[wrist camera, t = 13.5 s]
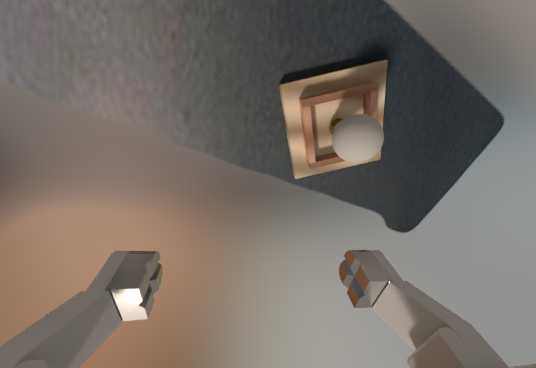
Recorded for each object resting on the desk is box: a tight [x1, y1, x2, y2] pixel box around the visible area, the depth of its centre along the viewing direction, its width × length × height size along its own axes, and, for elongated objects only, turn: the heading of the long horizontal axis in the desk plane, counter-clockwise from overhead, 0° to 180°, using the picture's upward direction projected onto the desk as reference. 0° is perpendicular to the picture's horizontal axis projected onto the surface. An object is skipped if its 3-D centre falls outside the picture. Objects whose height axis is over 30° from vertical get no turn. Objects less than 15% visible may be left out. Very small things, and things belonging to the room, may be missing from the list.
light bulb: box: [329, 114, 384, 163], centre depth 27 cm, size 6×6×10 cm
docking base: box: [279, 60, 388, 179], centre depth 31 cm, size 15×15×4 cm
